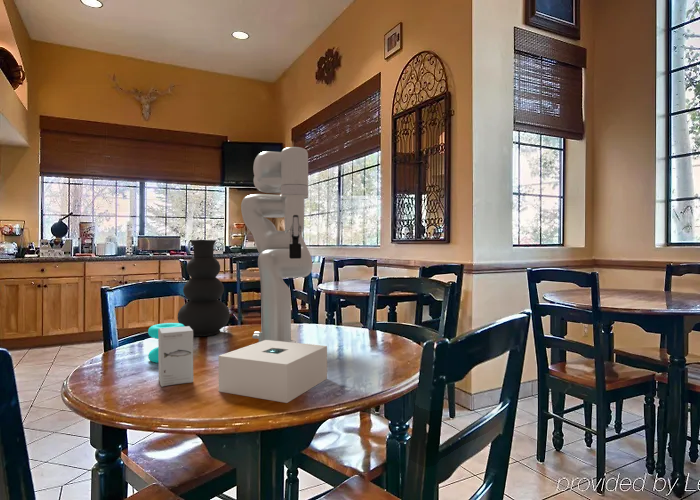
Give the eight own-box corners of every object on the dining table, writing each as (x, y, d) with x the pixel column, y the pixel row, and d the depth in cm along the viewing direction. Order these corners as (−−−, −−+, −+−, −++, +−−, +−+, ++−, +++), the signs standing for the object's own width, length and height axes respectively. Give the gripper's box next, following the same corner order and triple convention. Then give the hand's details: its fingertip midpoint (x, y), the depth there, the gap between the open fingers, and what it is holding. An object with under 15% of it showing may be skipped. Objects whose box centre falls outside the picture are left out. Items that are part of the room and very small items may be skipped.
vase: (192, 329, 171) (191, 240, 171) (237, 329, 169) (236, 240, 169) (167, 339, 153) (166, 240, 153) (218, 340, 151) (217, 239, 151)
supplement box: (160, 387, 100) (160, 333, 100) (158, 379, 107) (157, 327, 107) (194, 382, 104) (193, 330, 104) (190, 374, 110) (189, 325, 110)
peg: (263, 384, 101) (262, 351, 101) (273, 379, 104) (272, 348, 104) (277, 386, 99) (277, 353, 99) (287, 381, 103) (287, 349, 103)
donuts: (191, 324, 126) (157, 329, 118) (192, 359, 126) (157, 366, 118) (175, 320, 132) (142, 325, 125) (176, 353, 133) (142, 359, 125)
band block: (218, 391, 97) (218, 355, 97) (266, 370, 114) (265, 339, 114) (287, 402, 90) (286, 364, 90) (327, 378, 106) (326, 346, 106)
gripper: (280, 195, 128) (281, 257, 128) (281, 189, 113) (282, 259, 113) (306, 196, 129) (306, 257, 129) (310, 189, 114) (310, 259, 115)
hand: (295, 258), depth 121 cm, fingers closed
